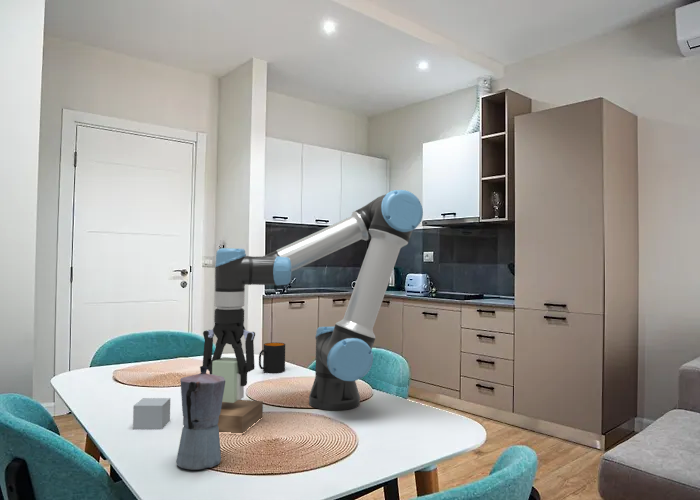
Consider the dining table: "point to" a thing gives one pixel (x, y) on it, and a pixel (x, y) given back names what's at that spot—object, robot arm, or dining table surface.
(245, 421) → the walnut block
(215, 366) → the sage block
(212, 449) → the moka pot
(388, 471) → the dining table surface
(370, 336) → the robot arm
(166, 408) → the slate block
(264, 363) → the mug
